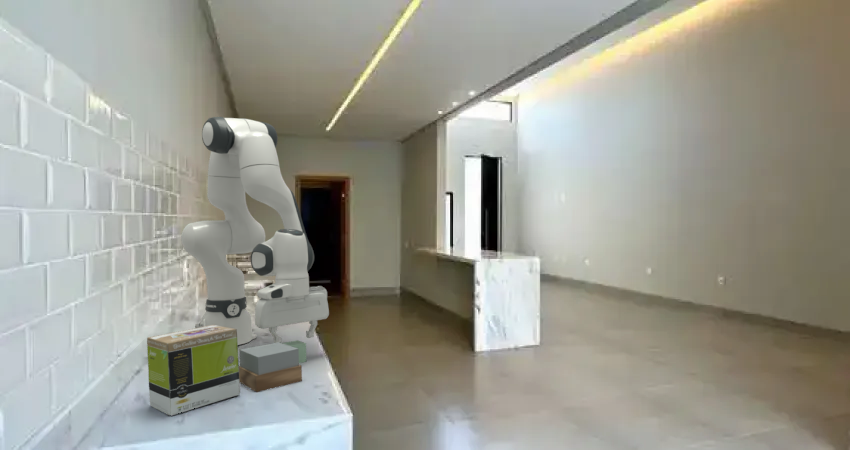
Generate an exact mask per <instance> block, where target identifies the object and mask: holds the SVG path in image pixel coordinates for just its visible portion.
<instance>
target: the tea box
mask: <svg viewBox="0 0 850 450" xmlns="http://www.w3.org/2000/svg"><path fill="white" fill-rule="evenodd" d="M146 343H147V345H146V347H147V368H148V369H147V370H148V372H147V373H148V395H149V404H150V406H151V407H152V408H154V409H155V410H157V411H160V412H161V413H163V412H164V414H165V413H166V415H168V416H170V415H171V417H172V416H175V415H178V413H179V414H181V412H182V413H185V412H188V411H191V410H194V408H195V409H198V408H201V407H204V406H207V405H210V404H214V403H216V402H219V401H223V400H227V399H229V398H232V397H236V396H239V395H241V387H240V386H241V385H240V384H241V383H240V381H239V366H240V360H239V347H238V346H239V345H238V342H237V329H233V328H227V327H222V326H217V325H209V326H205V327H200V328H195V327H193V328H191V329H184V330H179V331H174V332H173V331H172V332H169V333H165V334H160V335H153V336H149V337H147V338H146Z"/></svg>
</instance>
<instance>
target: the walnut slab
mask: <svg viewBox="0 0 850 450" xmlns="http://www.w3.org/2000/svg"><path fill="white" fill-rule="evenodd" d="M302 372H303V370H302V365H300V364H299V366H295V367H291V368H287V369H283V370H278V371H274V372H270V373H266V374H262V375H257V374H255V373H253V372H251V371H248V370H246V369H244V368H242V367H240V365H239V381H240V384H242V385H243V386H245V387H246V388H249V389H250V388H251V389H250V390H252V391H254V392H255V391H256V392H255V393H259V392H262V391H267V389H268V390H271V389H270V388H272V389H276V388H280V387H284V386H287V385H291V384H296V383H299V382H300V383H301V382H302V381H303V373H302ZM279 386H280V387H279ZM275 387H276V388H275Z"/></svg>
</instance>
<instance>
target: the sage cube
mask: <svg viewBox="0 0 850 450" xmlns="http://www.w3.org/2000/svg"><path fill="white" fill-rule="evenodd" d="M281 343H282V344H286V345H289V346H292V347H295V348H298V349H299V364H300V363H305V362H307V343H306V342H303V341H300V340H292V341H286V342H281Z"/></svg>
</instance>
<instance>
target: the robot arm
mask: <svg viewBox="0 0 850 450" xmlns="http://www.w3.org/2000/svg"><path fill="white" fill-rule="evenodd" d="M201 138H202V140H201V141H202V143H203V145H204V146H205V148H206V149H207V150H208V151H210V154H209V159H208V160H209V161H208V169H207V190H206V191H207V194H206V197H207V200H208V202H209V203H210V204H211V205H212V206H214V207H215V208H216V209H218V210H220V211H222V212H223V214H224V220H222V219H221V220H219V219H218V220H217V219H216V220H214V219H213V220H199V221H194V222H190V223H188V224H186V225H185V227H184V228H183V230H182V232H181V236H180V242H181V245H182V247H183V250H185V252H186V253H187V254H189V255H190V256H192V257H193V258H195V259H196V261H197V262H199V264H200V265H201V267H202V268H203V271H204V274H205V277H206V279H205V280H206V288H207V289H206V290H207V298H206V300H205V302H206V303H205V312H204V314H203V316H202V318H201V319H200V321H199V323H195V326H194V328H200V327H205V326H209V325H217V326H222V327H227V328H233V329H237V342H238V346H240V345H244V344H247V343H249V342H251V341H252V340H255V339H257V338H258V337H257V334H255V333H253V324H252V314H251V313H250V312H249V311H248V310H247V309H246V308H247V307H248V306H247V305H248V304H247V303H248V301H247V297H246V294H245V293H246V291H245V287H246V285H245V284H246V283H245V275H244V272H243V270H242V269H240V268H238V267H237V266H235V265H233V264H230V263H229V261H228V260H227V255H238V254H239V255H240V254H248V253H250V266H251V268H252V269H253V272H255V273H256V274H257V275H258V276H260V277H273V276H275V279H274V282H275V283H272V284H270V285H268V286H265V287H264V288H260V289H259V290H258V291H257V292H256V293H257V298H259V299H258V300H257V302H256V304H255V308H254V309H255V310H254V325H255V326H256V327H257V328H258V329H260V330H261V329H262V330H264V329H268V332H269V333H270V334H271V336H272V337H273V343H277V342H279V343H283V342H282V339H283V338H282V336H281V335H278V334H277V331H278V327H283V326H288V325H295V324H300V323H307V322H308V324H309V325H310V326H309V328H308V330H306V331H305V335H306V338H308V339H310V338H311V339H312V338H314V337H315V330H316V328H317V326H318V321H321V320H326V319H327V318H328V317H329V315H330V310H329V303H328V291H327V289H326V288H325V287H323V286H322V285H317V286H310V276H309V273H308V272H309V271H310V269H311V268H312V266H313V264H314V262H315V253H314V250H313V247H312V245H311V243H310V241H309V239H308V235H307V233H306V232H307V231H306V229H305V226H304V223H303V218H302V215H301V212H300V208H299V206H298V202H297V199H296V196H295V194H294V193H293V191H292V190H291V188H289V187H288V185H287V184H286V182H285V180H284V178H283V175H282V171H281V168H280V161H279V157H278V153H277V152H278V151H277V146H278V141H279V139H278V134H277V130H276V129H275V127H274V126H273V125H272V124H270V123H268V122H264V121H258V120H253V119H250V118H236V117H235V118H234V117H223V116H213V117H209V118H208V119H207V120H206V121H205V122H204V124H203V126H202V131H201ZM246 194H247V195H248V196H249V197H251V199H253V200H255V201H257V202H259V203H262V204H265V205H267V206H268V207H270V208H272V209H273V210H275V211H276V212H277V214H278V215H279V216H280V219H281V221H282V225H283V228H281V229H277V230H276V231H275V233H274V235H273V236H272V237H271V238H270V239H268V240H266V231H265V229H264V227H263V225H262V224H261V223H260V222H258V221H257V220H256V219H255V217H253V216H252V214H251V212H250V210H249V208H248V204H247V199H246Z"/></svg>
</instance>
